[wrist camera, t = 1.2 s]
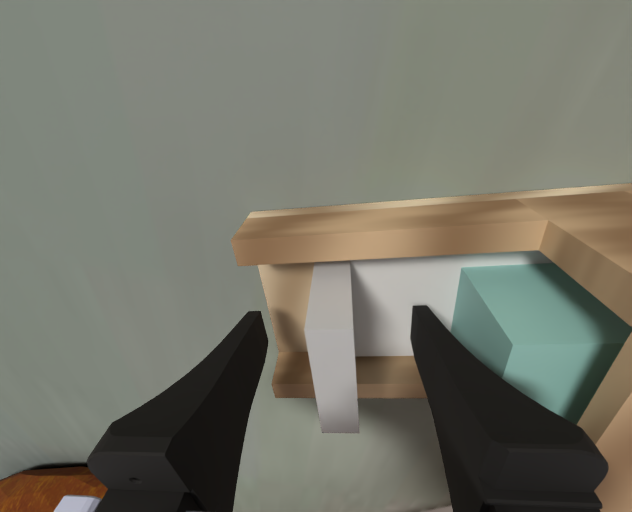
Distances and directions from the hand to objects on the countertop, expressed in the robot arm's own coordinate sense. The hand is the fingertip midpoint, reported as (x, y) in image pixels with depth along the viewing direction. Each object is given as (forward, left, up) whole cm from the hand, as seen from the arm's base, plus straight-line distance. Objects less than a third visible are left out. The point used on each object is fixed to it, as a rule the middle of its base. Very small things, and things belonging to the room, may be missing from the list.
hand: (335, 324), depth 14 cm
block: (-8, 0, -1) cm, 8 cm away
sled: (-5, 0, -2) cm, 5 cm away
